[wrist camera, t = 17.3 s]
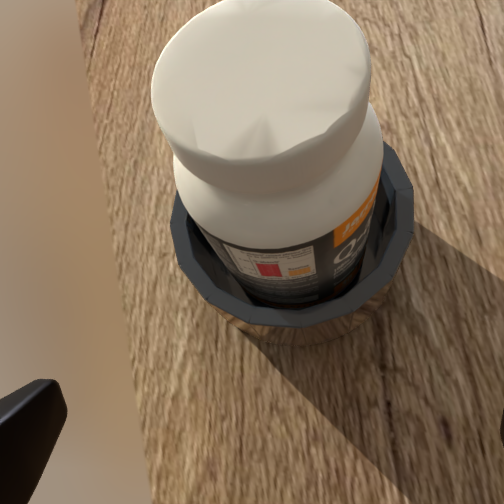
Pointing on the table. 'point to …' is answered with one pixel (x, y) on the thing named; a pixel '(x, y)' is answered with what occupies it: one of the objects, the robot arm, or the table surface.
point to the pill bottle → (274, 142)
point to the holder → (321, 315)
